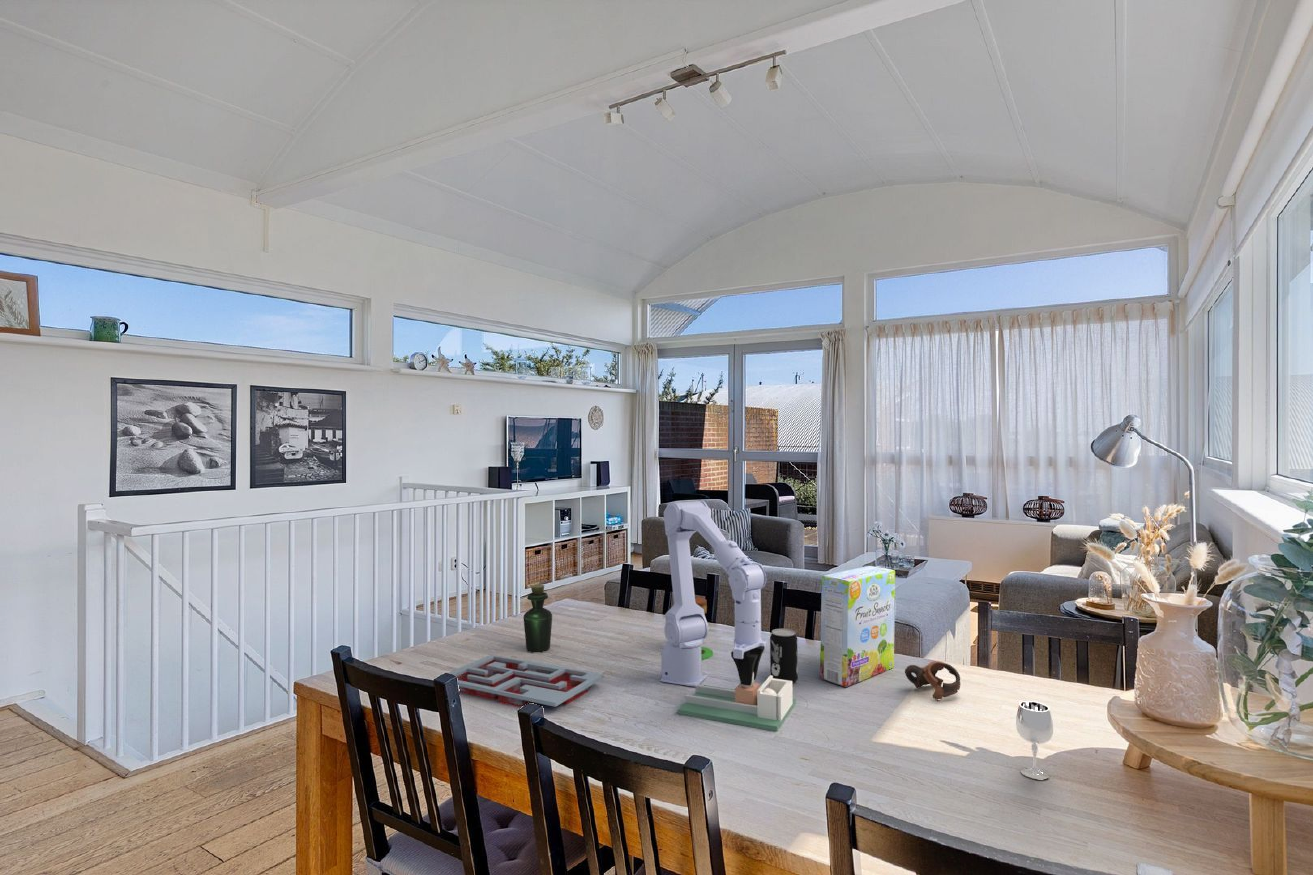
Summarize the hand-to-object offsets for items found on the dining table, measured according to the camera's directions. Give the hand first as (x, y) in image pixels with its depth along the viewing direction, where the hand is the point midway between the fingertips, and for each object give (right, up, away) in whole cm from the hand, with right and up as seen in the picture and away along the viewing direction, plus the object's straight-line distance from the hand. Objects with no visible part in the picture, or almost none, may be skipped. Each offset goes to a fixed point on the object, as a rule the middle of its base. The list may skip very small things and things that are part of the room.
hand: (748, 681), depth 151 cm
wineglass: (+47, -6, -29) cm, 55 cm away
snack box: (+31, -6, +22) cm, 38 cm away
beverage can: (+11, -6, +18) cm, 22 cm away
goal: (+5, -6, -3) cm, 9 cm away
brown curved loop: (+44, -6, +9) cm, 45 cm away
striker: (0, -5, 0) cm, 5 cm away
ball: (+4, -3, -2) cm, 5 cm away
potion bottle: (-54, -7, +45) cm, 70 cm away
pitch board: (-2, -6, +1) cm, 7 cm away
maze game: (-53, -7, +15) cm, 55 cm away
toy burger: (-10, -7, +40) cm, 41 cm away
